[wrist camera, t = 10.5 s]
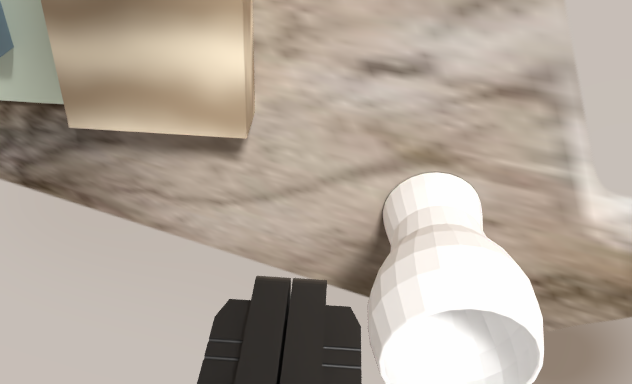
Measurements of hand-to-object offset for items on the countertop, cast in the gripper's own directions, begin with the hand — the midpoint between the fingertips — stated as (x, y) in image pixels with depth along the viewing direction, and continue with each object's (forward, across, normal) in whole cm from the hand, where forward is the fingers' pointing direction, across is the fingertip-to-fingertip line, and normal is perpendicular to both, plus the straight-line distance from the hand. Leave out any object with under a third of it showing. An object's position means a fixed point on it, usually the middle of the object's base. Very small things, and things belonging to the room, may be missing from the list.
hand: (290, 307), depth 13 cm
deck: (+29, +11, +1) cm, 31 cm away
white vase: (+29, -9, +18) cm, 35 cm away
